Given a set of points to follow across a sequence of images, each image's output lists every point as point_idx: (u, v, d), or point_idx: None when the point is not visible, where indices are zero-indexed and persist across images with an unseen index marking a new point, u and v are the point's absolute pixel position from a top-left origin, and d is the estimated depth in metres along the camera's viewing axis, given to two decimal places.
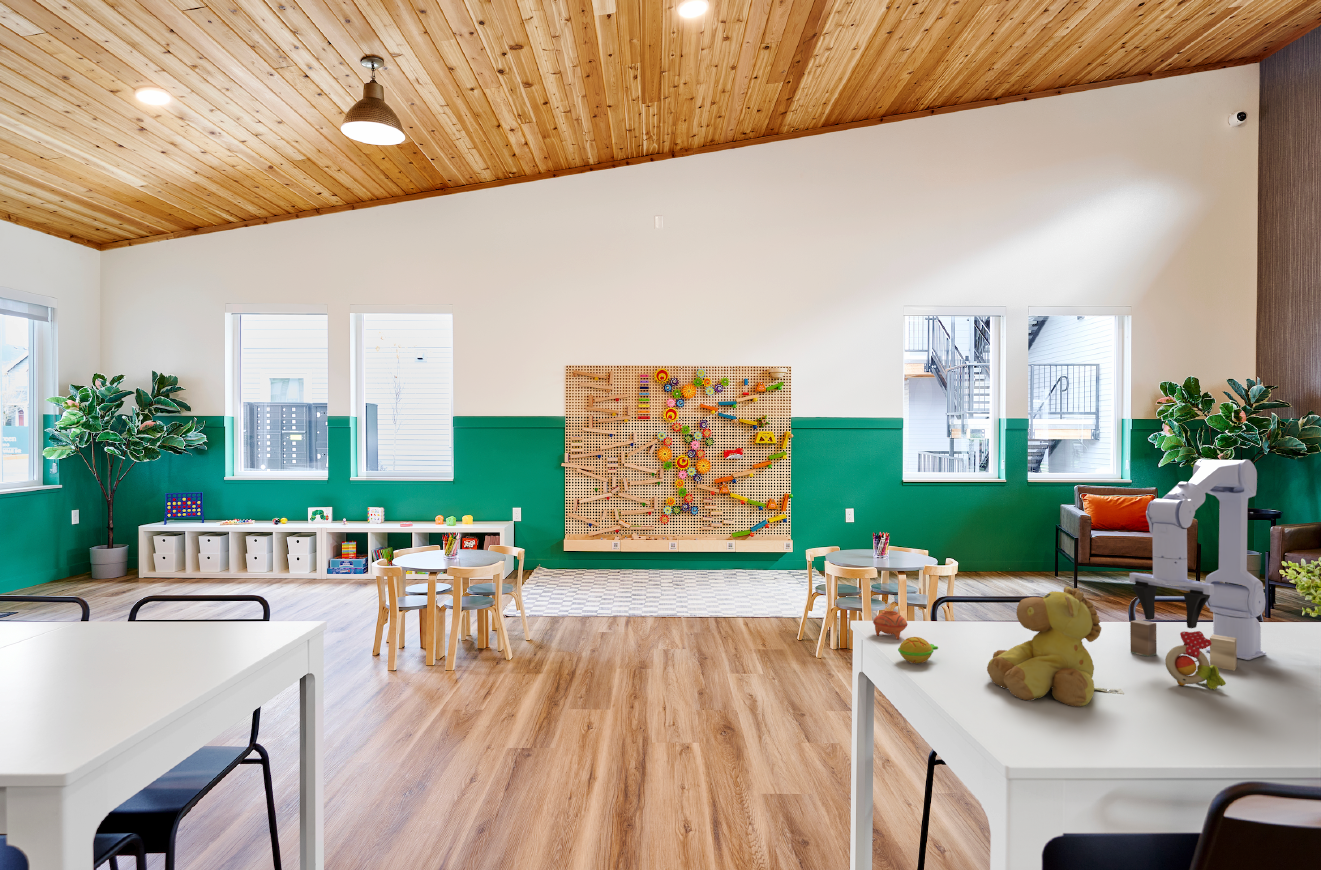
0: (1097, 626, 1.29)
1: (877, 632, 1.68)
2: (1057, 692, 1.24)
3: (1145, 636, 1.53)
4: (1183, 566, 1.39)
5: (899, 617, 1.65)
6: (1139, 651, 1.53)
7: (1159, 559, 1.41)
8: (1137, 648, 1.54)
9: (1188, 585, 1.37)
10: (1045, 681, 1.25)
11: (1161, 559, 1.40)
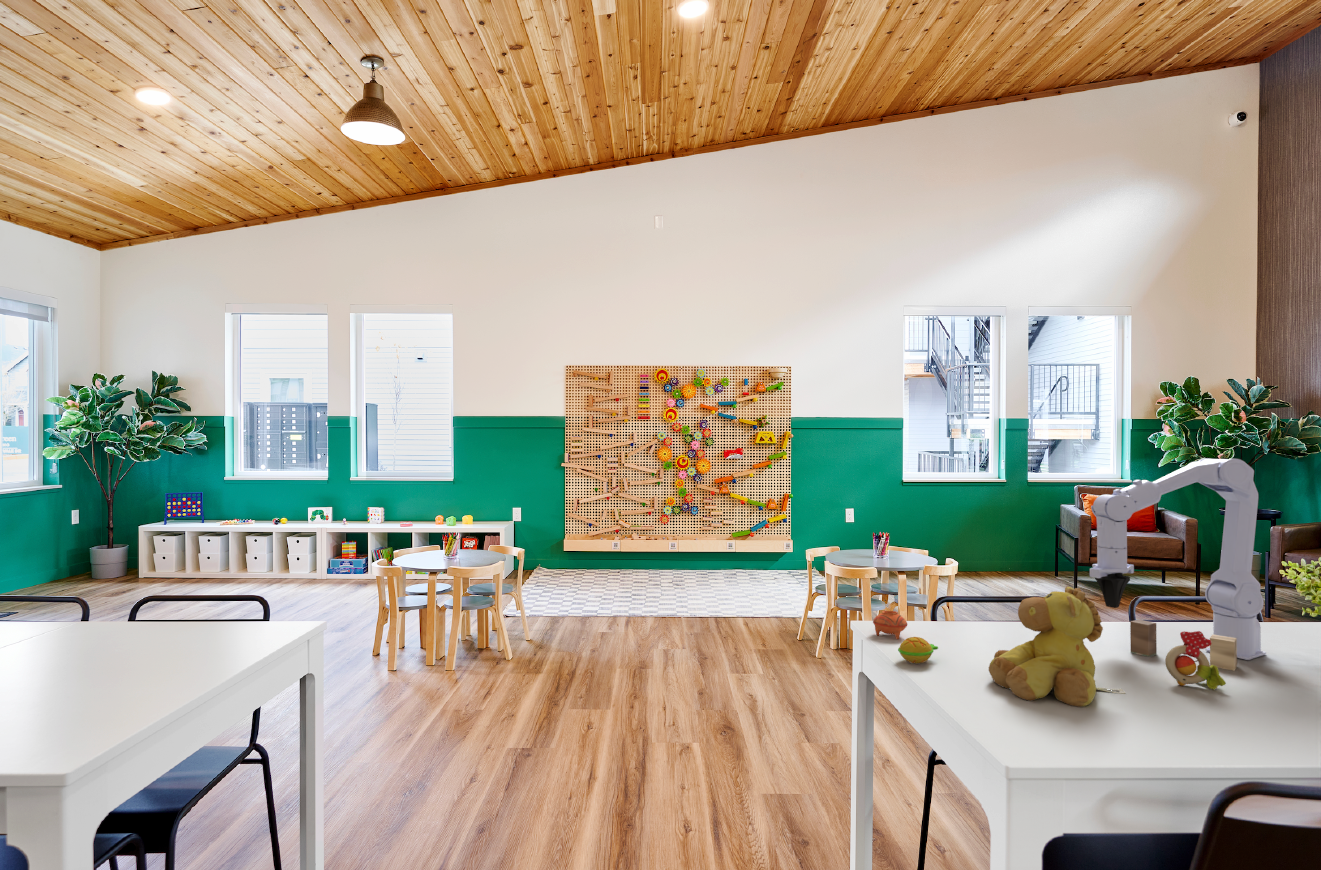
0: (1098, 626, 1.29)
1: (877, 632, 1.68)
2: (1059, 692, 1.24)
3: (1145, 636, 1.53)
4: (1101, 553, 1.56)
5: (899, 617, 1.65)
6: (1139, 651, 1.53)
7: None
8: (1137, 648, 1.54)
9: None
10: (1047, 681, 1.25)
11: None
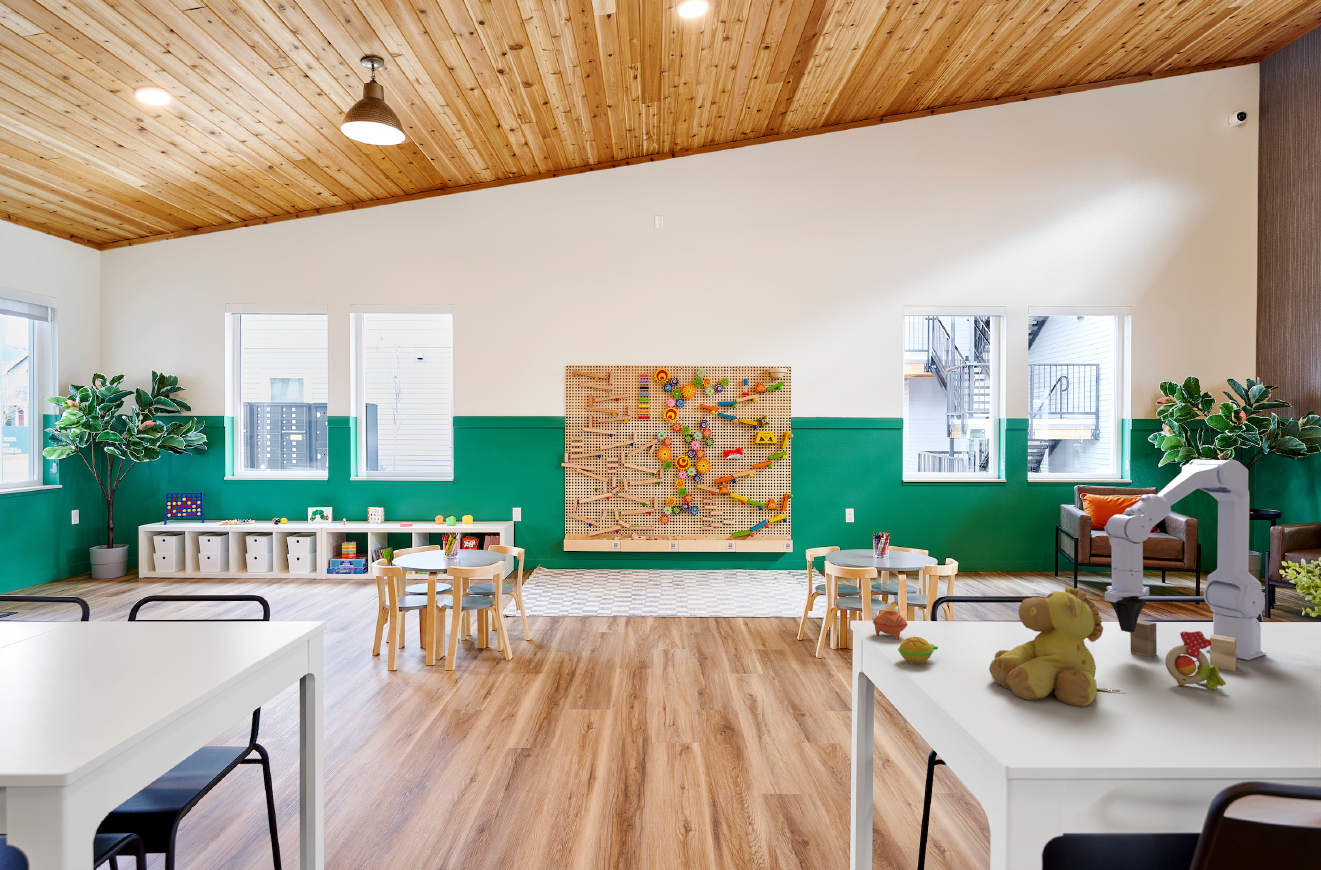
0: (1099, 626, 1.29)
1: (877, 632, 1.68)
2: (1060, 692, 1.24)
3: (1145, 636, 1.53)
4: (1116, 576, 1.51)
5: (899, 617, 1.65)
6: (1139, 651, 1.53)
7: None
8: (1137, 648, 1.54)
9: (1109, 592, 1.51)
10: (1048, 681, 1.25)
11: None
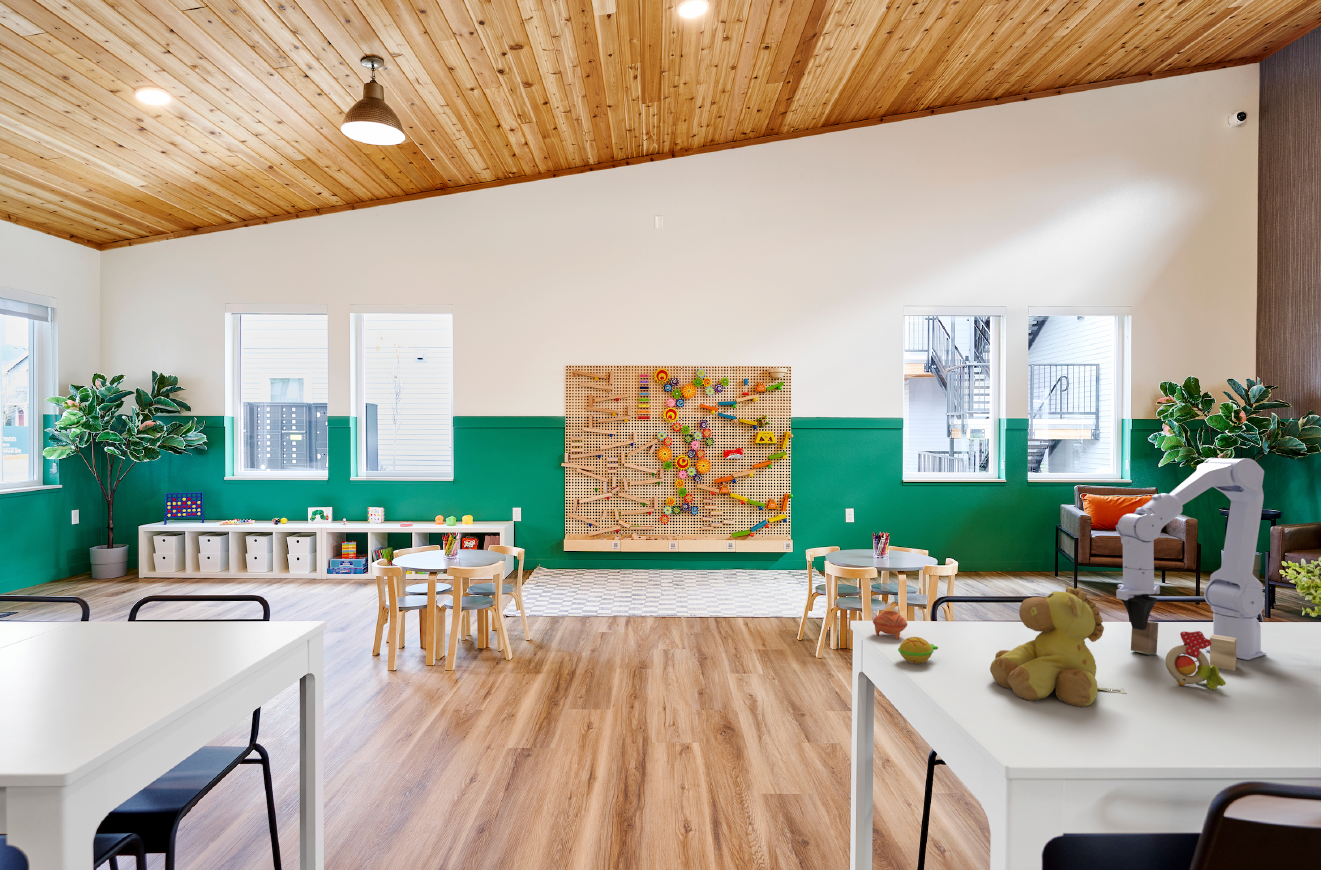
0: (1100, 626, 1.29)
1: (877, 632, 1.68)
2: (1061, 692, 1.24)
3: (1146, 633, 1.53)
4: (1128, 574, 1.53)
5: (899, 617, 1.65)
6: (1139, 649, 1.54)
7: None
8: (1137, 646, 1.54)
9: (1120, 590, 1.53)
10: (1049, 681, 1.25)
11: None
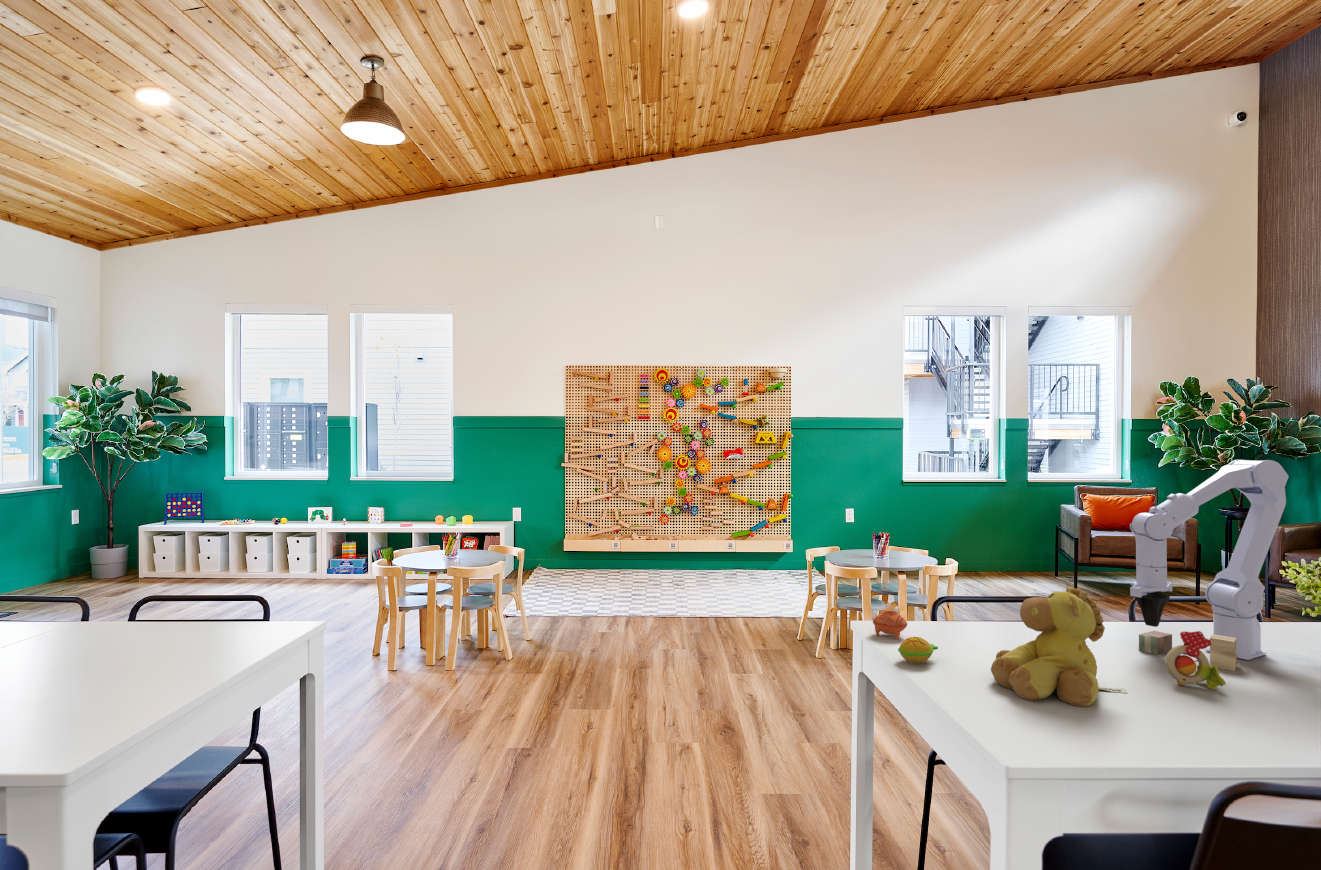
0: (1100, 626, 1.30)
1: (877, 632, 1.68)
2: (1063, 692, 1.24)
3: (1163, 634, 1.56)
4: (1141, 572, 1.56)
5: (899, 617, 1.65)
6: (1149, 635, 1.56)
7: None
8: (1147, 634, 1.56)
9: (1133, 587, 1.56)
10: (1050, 681, 1.25)
11: None
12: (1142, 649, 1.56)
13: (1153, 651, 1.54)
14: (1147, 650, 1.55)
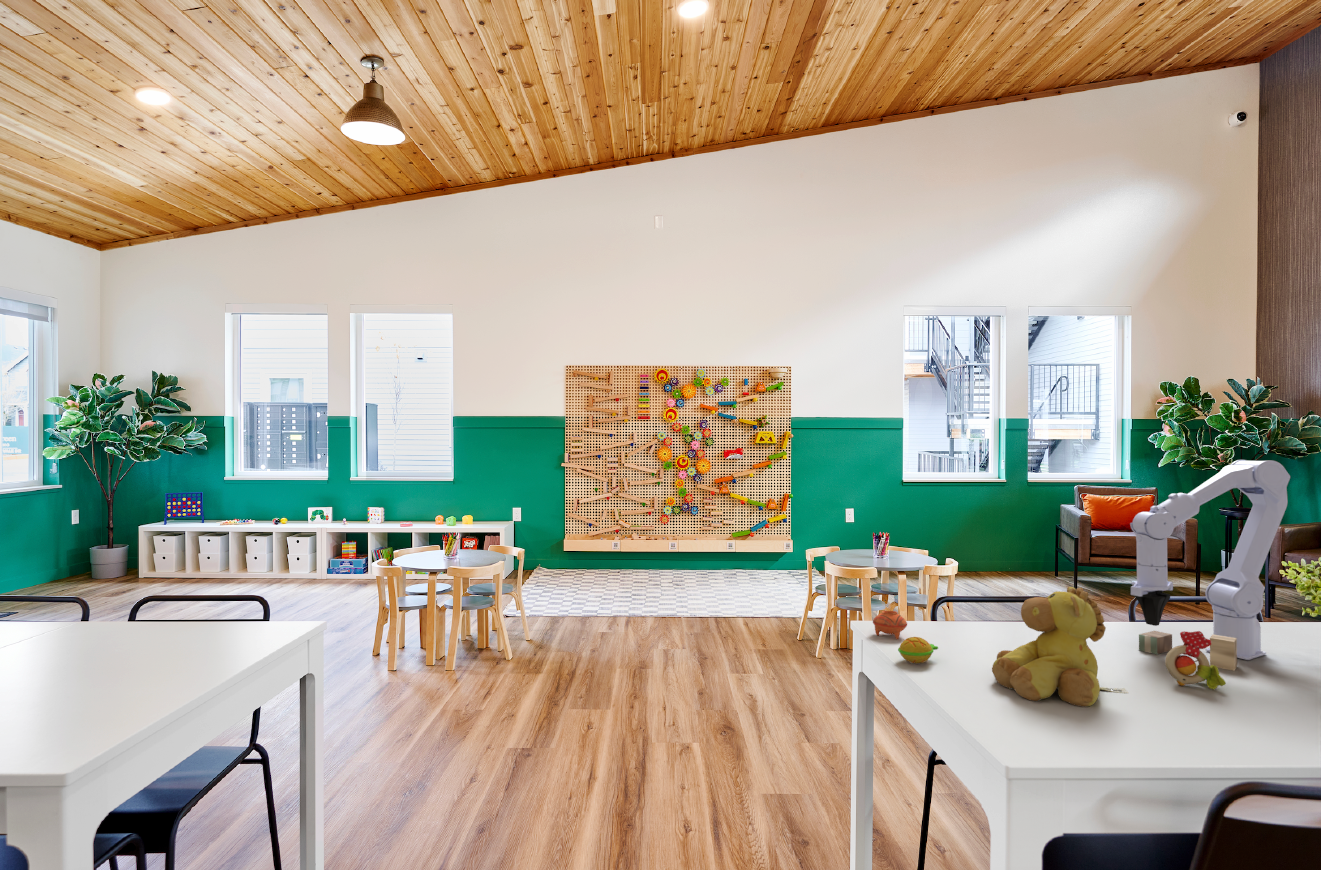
0: (1101, 626, 1.30)
1: (877, 632, 1.68)
2: (1064, 692, 1.24)
3: (1163, 634, 1.56)
4: (1142, 571, 1.56)
5: (899, 617, 1.65)
6: (1149, 635, 1.56)
7: None
8: (1147, 634, 1.56)
9: (1134, 586, 1.56)
10: (1052, 682, 1.25)
11: None
12: (1142, 649, 1.56)
13: (1153, 651, 1.54)
14: (1147, 650, 1.55)
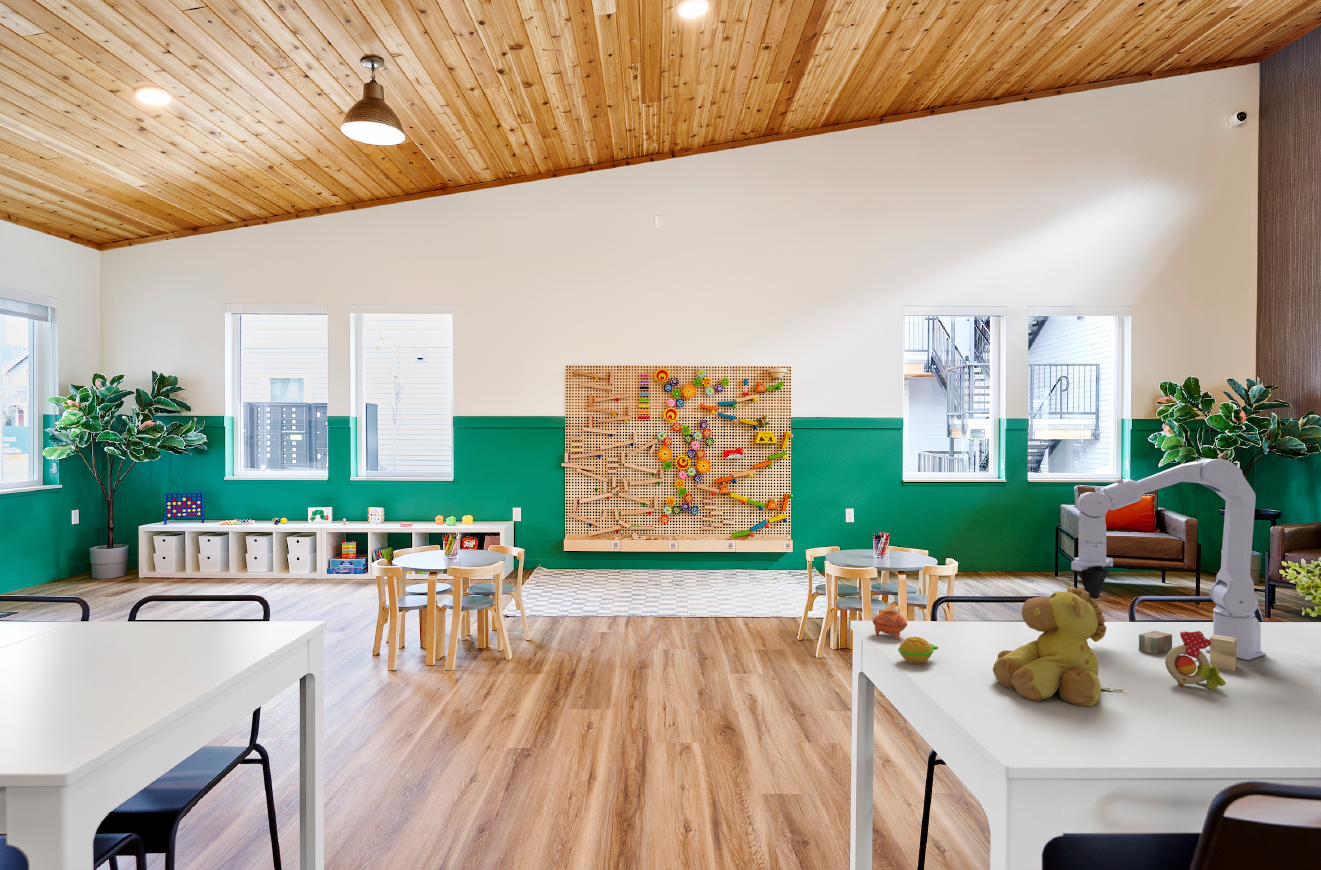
0: (1102, 626, 1.30)
1: (877, 632, 1.68)
2: (1065, 692, 1.24)
3: (1163, 634, 1.56)
4: (1082, 548, 1.66)
5: (899, 617, 1.65)
6: (1149, 635, 1.56)
7: None
8: (1147, 634, 1.56)
9: None
10: (1053, 682, 1.25)
11: None
12: (1142, 649, 1.56)
13: (1153, 651, 1.54)
14: (1147, 650, 1.55)
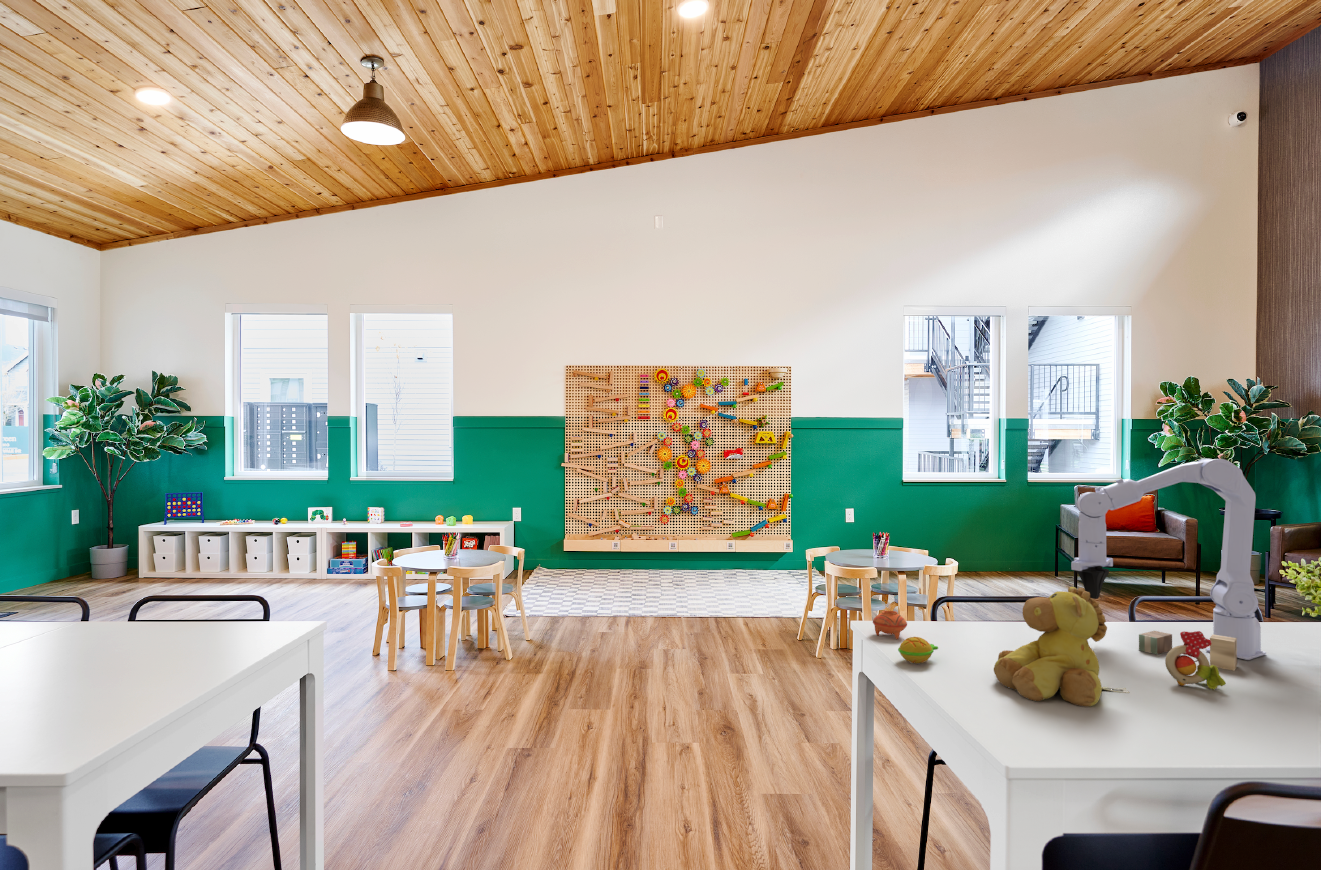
0: (1103, 626, 1.30)
1: (877, 632, 1.68)
2: (1066, 692, 1.24)
3: (1163, 634, 1.56)
4: (1082, 548, 1.66)
5: (899, 617, 1.65)
6: (1149, 635, 1.56)
7: None
8: (1147, 634, 1.56)
9: None
10: (1054, 682, 1.25)
11: None
12: (1142, 649, 1.56)
13: (1153, 651, 1.54)
14: (1147, 650, 1.55)
